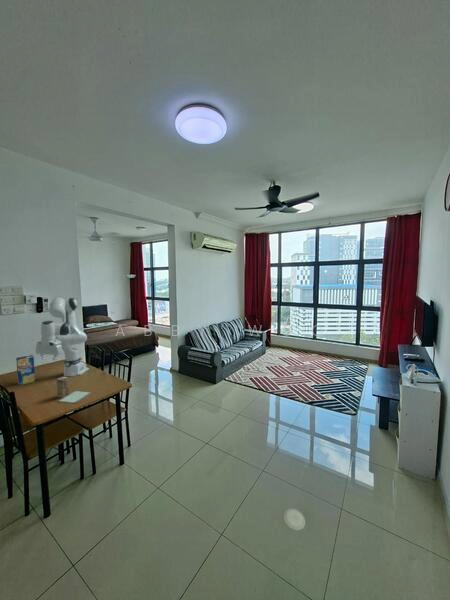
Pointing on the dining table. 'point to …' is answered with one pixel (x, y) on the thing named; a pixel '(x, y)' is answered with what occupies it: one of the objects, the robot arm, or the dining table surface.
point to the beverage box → (25, 369)
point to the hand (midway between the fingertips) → (49, 359)
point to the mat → (74, 397)
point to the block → (62, 387)
